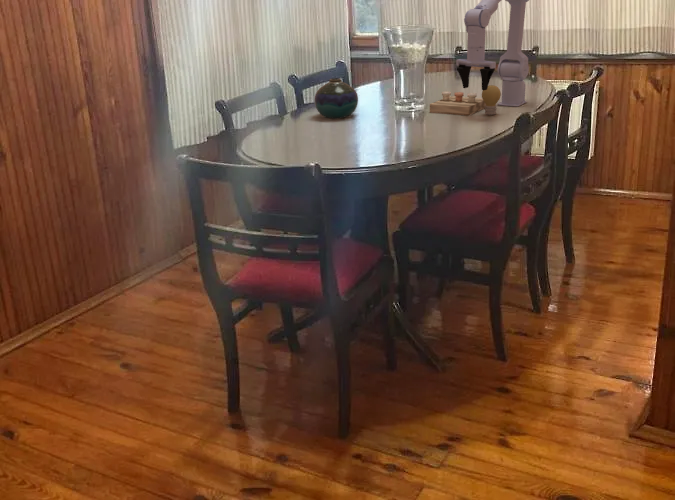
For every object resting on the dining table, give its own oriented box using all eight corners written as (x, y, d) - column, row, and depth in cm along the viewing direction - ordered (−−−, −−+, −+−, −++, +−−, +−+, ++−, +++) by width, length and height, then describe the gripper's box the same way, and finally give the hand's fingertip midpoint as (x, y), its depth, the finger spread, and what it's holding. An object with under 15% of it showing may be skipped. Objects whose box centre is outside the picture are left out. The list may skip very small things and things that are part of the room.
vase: (308, 120, 259) (306, 82, 254) (325, 111, 272) (323, 75, 267) (349, 122, 253) (347, 83, 248) (364, 113, 266) (363, 75, 261)
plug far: (444, 98, 268) (444, 91, 267) (452, 99, 267) (452, 91, 266) (440, 100, 266) (440, 92, 265) (448, 101, 264) (448, 93, 263)
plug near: (469, 100, 263) (469, 92, 262) (477, 101, 261) (478, 93, 260) (465, 102, 261) (465, 94, 259) (474, 102, 259) (474, 94, 258)
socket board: (449, 104, 275) (449, 96, 274) (487, 107, 267) (487, 98, 266) (429, 112, 263) (429, 104, 262) (468, 115, 255) (468, 107, 254)
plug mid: (456, 99, 266) (456, 91, 265) (464, 100, 264) (465, 92, 263) (452, 101, 263) (452, 93, 262) (461, 101, 261) (461, 94, 260)
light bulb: (500, 116, 251) (501, 86, 248) (480, 116, 253) (481, 87, 249) (499, 112, 257) (501, 83, 253) (481, 112, 258) (482, 83, 255)
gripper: (450, 47, 245) (450, 88, 250) (487, 49, 235) (486, 92, 241) (463, 44, 250) (462, 85, 255) (500, 47, 240) (498, 89, 245)
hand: (475, 88), depth 248 cm, fingers open, 7 cm apart
